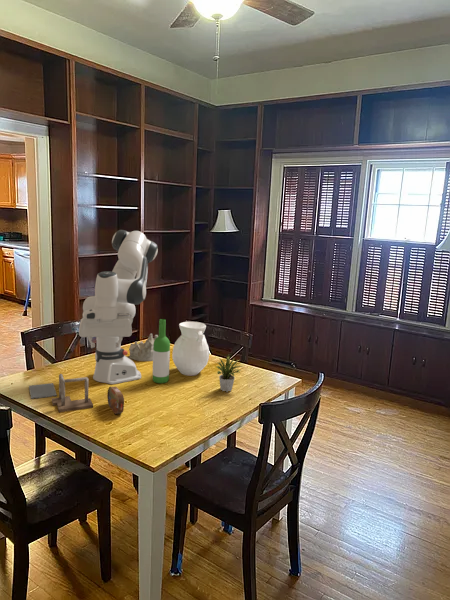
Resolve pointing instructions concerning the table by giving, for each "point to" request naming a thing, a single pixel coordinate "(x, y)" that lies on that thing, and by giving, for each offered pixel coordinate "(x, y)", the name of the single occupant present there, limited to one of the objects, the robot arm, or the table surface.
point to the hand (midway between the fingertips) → (105, 347)
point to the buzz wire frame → (65, 402)
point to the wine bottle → (161, 355)
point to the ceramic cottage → (143, 350)
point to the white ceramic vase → (191, 348)
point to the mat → (42, 390)
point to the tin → (115, 400)
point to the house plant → (227, 374)
